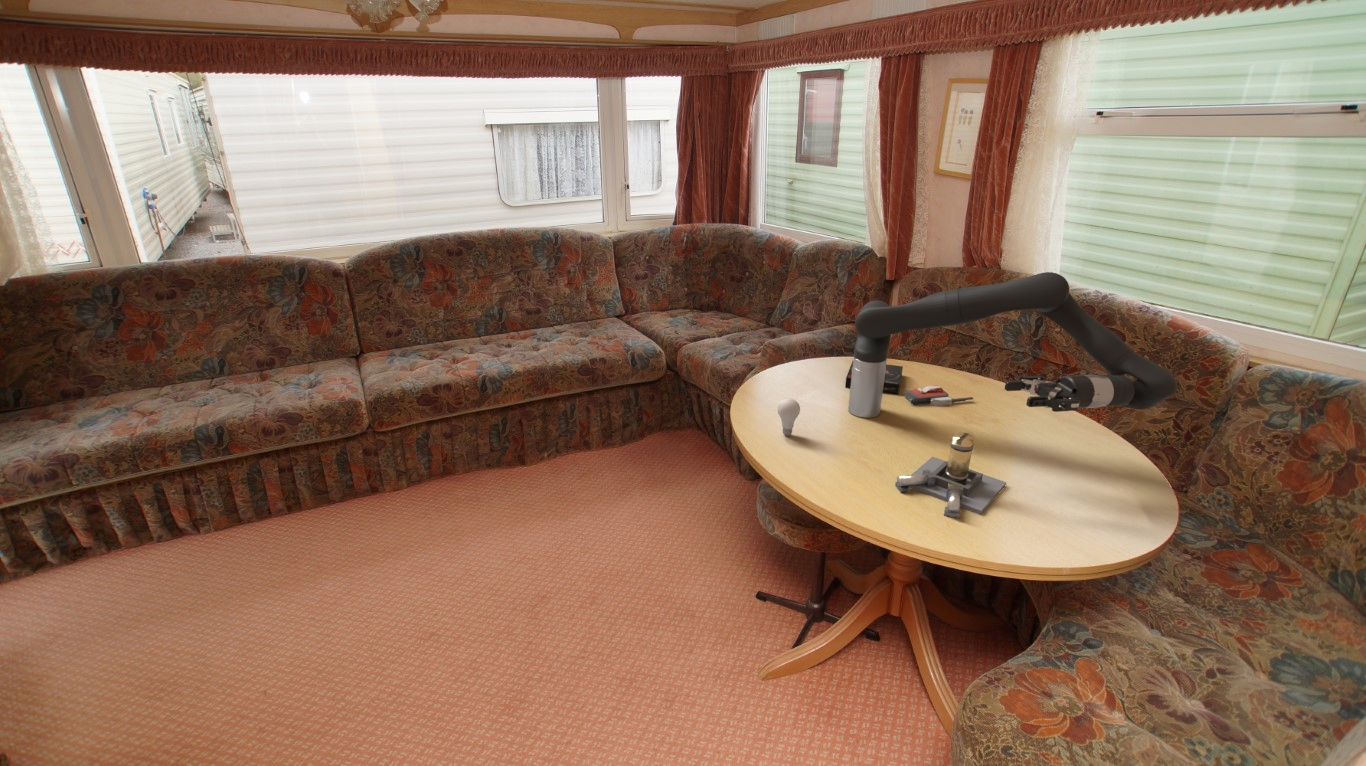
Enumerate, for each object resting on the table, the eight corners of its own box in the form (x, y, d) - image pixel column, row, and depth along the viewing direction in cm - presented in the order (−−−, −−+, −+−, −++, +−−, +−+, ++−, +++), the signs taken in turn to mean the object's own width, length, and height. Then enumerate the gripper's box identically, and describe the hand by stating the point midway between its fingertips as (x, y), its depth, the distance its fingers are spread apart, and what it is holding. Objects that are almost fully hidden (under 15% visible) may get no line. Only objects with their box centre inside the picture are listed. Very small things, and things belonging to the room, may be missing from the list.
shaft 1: (927, 483, 151) (929, 470, 149) (933, 490, 148) (935, 477, 146) (895, 485, 150) (897, 472, 149) (900, 492, 147) (902, 479, 146)
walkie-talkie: (914, 410, 189) (974, 403, 193) (916, 396, 187) (977, 390, 191) (899, 398, 197) (957, 392, 200) (901, 385, 195) (959, 379, 199)
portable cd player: (901, 376, 213) (903, 365, 212) (897, 396, 198) (899, 384, 197) (851, 370, 219) (853, 359, 217) (844, 389, 204) (846, 377, 202)
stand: (931, 459, 161) (933, 449, 160) (1005, 485, 149) (1008, 475, 148) (903, 484, 150) (904, 473, 149) (980, 514, 139) (982, 503, 138)
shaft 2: (945, 496, 145) (948, 483, 144) (960, 499, 144) (963, 486, 143) (943, 515, 139) (946, 501, 137) (959, 518, 138) (962, 504, 136)
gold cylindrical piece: (949, 473, 153) (956, 429, 148) (969, 481, 150) (978, 436, 145) (940, 481, 150) (948, 437, 145) (961, 489, 146) (970, 444, 142)
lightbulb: (773, 430, 177) (775, 394, 172) (795, 429, 177) (797, 393, 173) (778, 440, 171) (780, 404, 167) (800, 439, 171) (803, 403, 167)
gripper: (1067, 364, 148) (1002, 366, 147) (1110, 389, 135) (1040, 391, 134) (1059, 393, 151) (995, 395, 150) (1101, 420, 138) (1031, 423, 137)
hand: (1016, 393), depth 142 cm, fingers open, 8 cm apart
